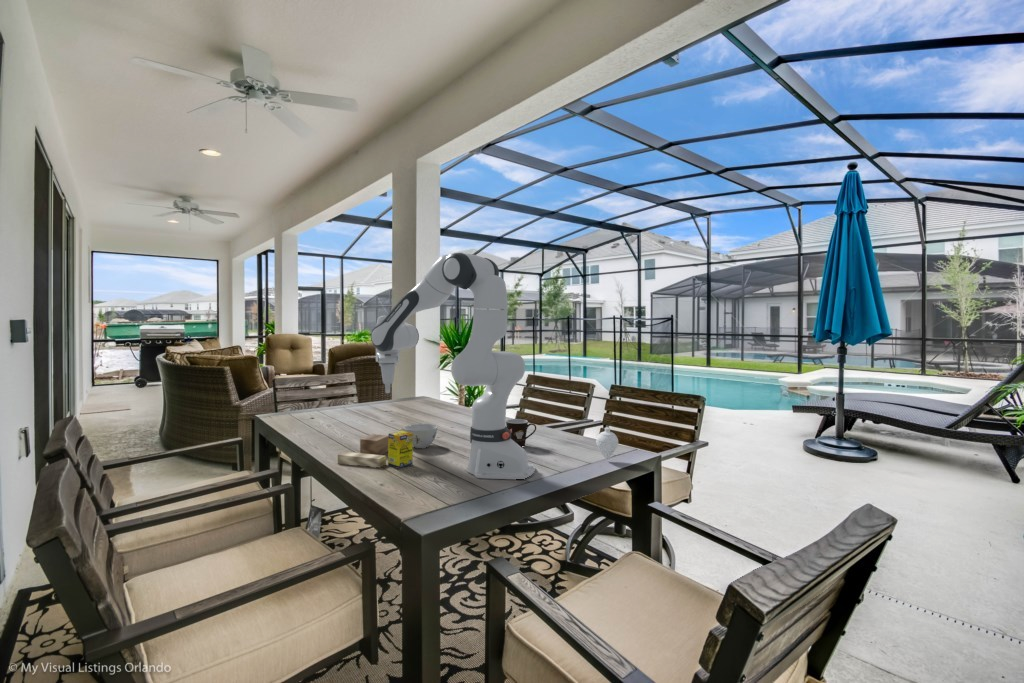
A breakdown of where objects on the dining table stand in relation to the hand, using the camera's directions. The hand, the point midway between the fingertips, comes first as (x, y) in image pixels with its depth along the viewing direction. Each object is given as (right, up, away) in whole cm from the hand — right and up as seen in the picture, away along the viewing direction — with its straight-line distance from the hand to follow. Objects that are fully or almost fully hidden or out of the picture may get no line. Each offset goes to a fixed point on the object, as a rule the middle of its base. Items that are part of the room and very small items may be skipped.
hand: (387, 392), depth 180 cm
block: (-3, -22, -8) cm, 23 cm away
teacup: (+11, -21, +2) cm, 24 cm away
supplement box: (+10, -22, -22) cm, 33 cm away
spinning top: (+81, -23, -15) cm, 86 cm away
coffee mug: (+51, -22, +3) cm, 56 cm away
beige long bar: (-3, -22, -21) cm, 31 cm away
